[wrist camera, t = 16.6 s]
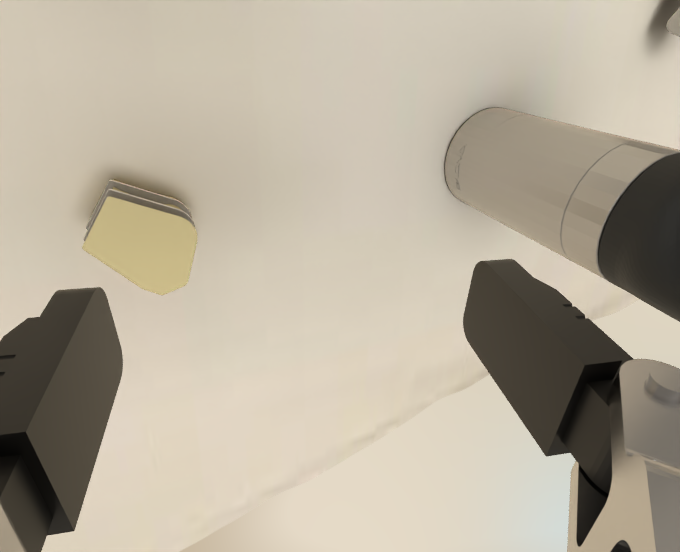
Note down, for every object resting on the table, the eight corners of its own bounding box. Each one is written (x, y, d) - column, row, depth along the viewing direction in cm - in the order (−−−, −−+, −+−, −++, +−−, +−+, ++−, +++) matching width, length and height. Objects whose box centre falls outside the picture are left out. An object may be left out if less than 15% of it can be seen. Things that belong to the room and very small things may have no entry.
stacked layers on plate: (48, 242, 32) (36, 276, 28) (101, 132, 30) (96, 151, 26) (180, 288, 38) (187, 323, 34) (231, 197, 36) (245, 222, 32)
